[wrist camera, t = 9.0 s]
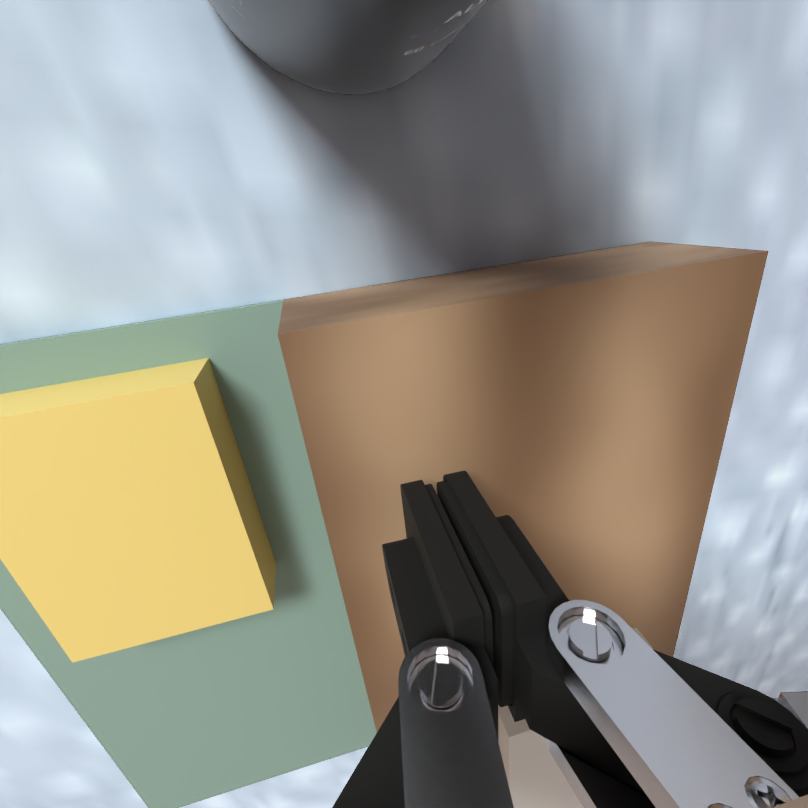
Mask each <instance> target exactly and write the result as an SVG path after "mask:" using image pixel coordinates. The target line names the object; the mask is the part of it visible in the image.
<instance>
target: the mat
mask: <svg viewBox="0 0 808 808" xmlns="http://www.w3.org/2000/svg"><path fill="white" fill-rule="evenodd" d="M282 305H283V300H278V301H272V302H265V303H259V304H253V305H246V306H240V307H234V308H227V309H221V310H214V311H208V312H202V313H195V314H189V315H183V316H176V317H170V318H164V319H157V320H151V321H145V322H138V323H132V324H126V325H119V326H113V327H107V328H100V329H94V330H88V331H81V332H75V333H69V334H62V335H56V336H50V337H43V338H37V339H31V340H24V341H18V342H12V343H5V344H0V394H4V393H10V392H15V391H21V390H27V389H33V388H38V387H44V386H50V385H56V384H61V383H67V382H73V381H79V380H84V379H90V378H96V377H102V376H108V375H113V374H119V373H125V372H131V371H136V370H142V369H148V368H154V367H159V366H165V365H171V364H177V363H182V362H188V361H194V360H200V359H205V358H209V360H210V363H211V367H212V370H213V373H214V376H215V379H216V382H217V385H218V388H219V391H220V394H221V397H222V400H223V403H224V406H225V409H226V412H227V415H228V418H229V421H230V424H231V428H232V431H233V434H234V437H235V440H236V443H237V446H238V449H239V452H240V455H241V458H242V461H243V464H244V467H245V470H246V473H247V476H248V479H249V482H250V485H251V489H252V492H253V495H254V498H255V501H256V504H257V507H258V510H259V513H260V516H261V519H262V522H263V525H264V528H265V531H266V534H267V537H268V540H269V543H270V546H271V550H272V553H273V556H274V559H275V562H276V578H275V594H274V609H273V610H269V611H266V612H262V613H258V614H254V615H250V616H247V617H243V618H239V619H235V620H232V621H228V622H224V623H220V624H217V625H213V626H209V627H205V628H201V629H198V630H194V631H190V632H186V633H183V634H179V635H175V636H171V637H168V638H164V639H160V640H156V641H152V642H149V643H145V644H141V645H137V646H134V647H130V648H126V649H122V650H119V651H115V652H111V653H107V654H103V655H100V656H96V657H92V658H88V659H85V660H81V661H77V662H73V663H72V661H71V660H70V659H69V657H68V656H67V654H66V653H65V651H64V650H63V649H62V647H61V646H60V644H59V643H58V641H57V640H56V638H55V637H54V636H53V634H52V633H51V631H50V630H49V628H48V627H47V625H46V624H45V623H44V621H43V620H42V618H41V617H40V615H39V614H38V613H37V611H36V610H35V608H34V607H33V605H32V604H31V602H30V601H29V600H28V598H27V597H26V595H25V594H24V592H23V591H22V589H21V588H20V587H19V585H18V584H17V582H16V581H15V579H14V578H13V577H12V575H11V574H10V572H9V571H8V569H7V568H6V566H5V565H4V564H3V562H2V561H1V559H0V609H1V610H2V612H3V613H4V614H5V616H6V617H7V618H8V620H9V621H10V622H11V624H12V625H13V626H14V628H15V629H16V630H17V632H18V633H19V634H20V636H21V637H22V638H23V640H24V641H25V642H26V644H27V645H28V646H29V648H30V649H31V651H32V652H33V653H34V655H35V656H36V657H37V659H38V660H39V661H40V663H41V664H42V665H43V667H44V668H45V669H46V671H47V672H48V673H49V675H50V676H51V677H52V679H53V680H54V681H55V683H56V684H57V685H58V687H59V688H60V690H61V691H62V692H63V694H64V695H65V696H66V698H67V699H68V700H69V702H70V703H71V704H72V706H73V707H74V708H75V710H76V711H77V712H78V714H79V715H80V716H81V718H82V719H83V720H84V722H85V723H86V724H87V726H88V727H89V729H90V730H91V731H92V733H93V734H94V735H95V737H96V738H97V739H98V741H99V742H100V743H101V745H102V746H103V747H104V749H105V750H106V751H107V753H108V754H109V755H110V757H111V758H112V759H113V761H114V762H115V763H116V765H117V766H118V768H119V769H120V770H121V772H122V773H123V774H124V776H125V777H126V778H127V780H128V781H129V782H130V784H131V785H132V786H133V788H134V789H135V790H136V792H137V793H138V794H139V796H140V797H141V798H142V800H143V801H144V802H145V804H146V805H147V806H148V808H179V807H183V806H186V805H189V804H192V803H195V802H198V801H201V800H204V799H207V798H210V797H213V796H216V795H220V794H223V793H226V792H229V791H232V790H235V789H238V788H241V787H244V786H247V785H250V784H254V783H257V782H260V781H263V780H266V779H269V778H272V777H275V776H278V775H281V774H284V773H287V772H291V771H294V770H297V769H300V768H303V767H306V766H309V765H312V764H315V763H318V762H321V761H325V760H328V759H331V758H334V757H337V756H340V755H343V754H346V753H349V752H352V751H355V750H359V749H362V748H365V747H368V746H369V745H370V744H371V742H372V740H373V739H374V737H375V735H376V733H377V731H376V727H375V723H374V719H373V715H372V711H371V707H370V703H369V699H368V695H367V691H366V687H365V683H364V679H363V675H362V671H361V667H360V663H359V659H358V655H357V651H356V647H355V643H354V639H353V635H352V631H351V627H350V623H349V619H348V615H347V611H346V607H345V603H344V599H343V595H342V591H341V587H340V583H339V579H338V575H337V571H336V567H335V563H334V559H333V555H332V551H331V547H330V543H329V539H328V535H327V531H326V527H325V523H324V519H323V515H322V511H321V507H320V503H319V499H318V495H317V491H316V487H315V483H314V479H313V475H312V471H311V467H310V463H309V459H308V455H307V451H306V447H305V443H304V439H303V435H302V430H301V426H300V422H299V418H298V414H297V410H296V406H295V402H294V398H293V394H292V390H291V386H290V382H289V378H288V374H287V370H286V366H285V362H284V358H283V354H282V350H281V346H280V342H279V338H278V329H279V323H280V317H281V311H282Z"/></svg>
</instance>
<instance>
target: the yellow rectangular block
mask: <svg viewBox="0 0 808 808" xmlns="http://www.w3.org/2000/svg"><path fill="white" fill-rule="evenodd" d="M0 559H1V561H2V562H3V564H4V565H5V566H6V568H7V569H8V571H9V572H10V574H11V575H12V577H13V578H14V579H15V581H16V582H17V584H18V585H19V587H20V588H21V589H22V591H23V592H24V594H25V595H26V597H27V598H28V600H29V601H30V602H31V604H32V605H33V607H34V608H35V610H36V611H37V613H38V614H39V615H40V617H41V618H42V620H43V621H44V623H45V624H46V625H47V627H48V628H49V630H50V631H51V633H52V634H53V636H54V637H55V638H56V640H57V641H58V643H59V644H60V646H61V647H62V649H63V650H64V651H65V653H66V654H67V656H68V657H69V659H70V660H71V661H72V663H73V662H77V661H81V660H85V659H88V658H92V657H96V656H100V655H103V654H107V653H111V652H115V651H119V650H122V649H126V648H130V647H134V646H137V645H141V644H145V643H149V642H152V641H156V640H160V639H164V638H168V637H171V636H175V635H179V634H183V633H186V632H190V631H194V630H198V629H201V628H205V627H209V626H213V625H217V624H220V623H224V622H228V621H232V620H235V619H239V618H243V617H247V616H250V615H254V614H258V613H262V612H266V611H269V610H273V609H274V594H275V578H276V562H275V559H274V556H273V553H272V550H271V546H270V543H269V540H268V537H267V534H266V531H265V528H264V525H263V522H262V519H261V516H260V513H259V510H258V507H257V504H256V501H255V498H254V495H253V492H252V489H251V485H250V482H249V479H248V476H247V473H246V470H245V467H244V464H243V461H242V458H241V455H240V452H239V449H238V446H237V443H236V440H235V437H234V434H233V431H232V428H231V424H230V421H229V418H228V415H227V412H226V409H225V406H224V403H223V400H222V397H221V394H220V391H219V388H218V385H217V382H216V379H215V376H214V373H213V370H212V367H211V363H210V360H209V358H205V359H200V360H194V361H188V362H182V363H177V364H171V365H165V366H159V367H154V368H148V369H142V370H136V371H131V372H125V373H119V374H113V375H108V376H102V377H96V378H90V379H84V380H79V381H73V382H67V383H61V384H56V385H50V386H44V387H38V388H33V389H27V390H21V391H15V392H10V393H4V394H0Z"/></svg>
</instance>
